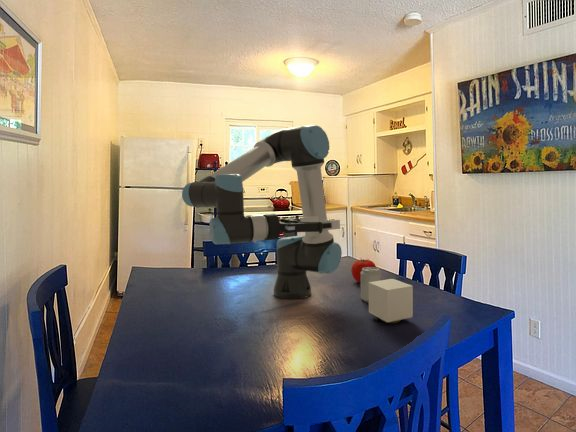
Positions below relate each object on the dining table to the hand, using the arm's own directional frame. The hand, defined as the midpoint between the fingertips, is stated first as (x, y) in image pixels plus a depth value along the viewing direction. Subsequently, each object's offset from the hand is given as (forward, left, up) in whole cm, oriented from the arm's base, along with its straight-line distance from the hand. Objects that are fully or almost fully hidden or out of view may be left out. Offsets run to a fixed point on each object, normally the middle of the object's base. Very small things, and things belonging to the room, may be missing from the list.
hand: (328, 222), depth 114 cm
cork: (+8, +18, -32) cm, 37 cm away
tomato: (-33, +36, -32) cm, 58 cm away
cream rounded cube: (+8, +18, -30) cm, 36 cm away
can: (-11, +24, -32) cm, 41 cm away
